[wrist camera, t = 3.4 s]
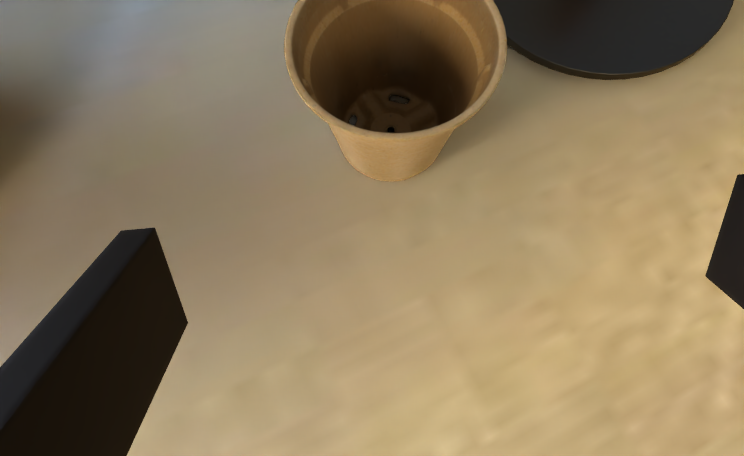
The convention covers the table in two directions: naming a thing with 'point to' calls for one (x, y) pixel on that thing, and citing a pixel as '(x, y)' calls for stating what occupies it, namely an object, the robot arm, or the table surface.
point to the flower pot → (395, 74)
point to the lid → (611, 33)
